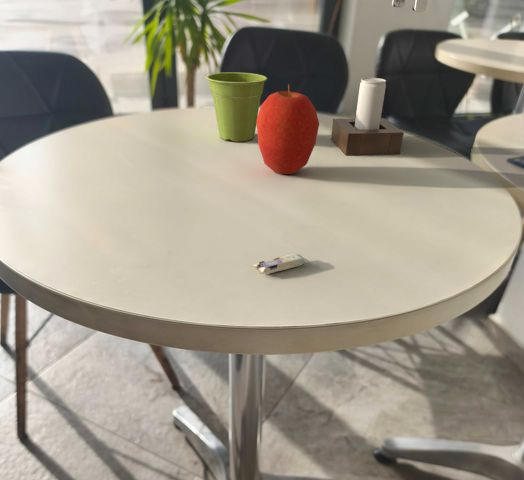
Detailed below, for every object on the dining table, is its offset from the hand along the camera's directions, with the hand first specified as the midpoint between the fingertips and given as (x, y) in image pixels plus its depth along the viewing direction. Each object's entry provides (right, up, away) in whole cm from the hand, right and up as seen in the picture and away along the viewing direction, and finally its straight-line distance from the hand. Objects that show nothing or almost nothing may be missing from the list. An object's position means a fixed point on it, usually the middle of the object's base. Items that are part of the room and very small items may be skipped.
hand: (407, 9), depth 84 cm
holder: (-4, -17, +16) cm, 24 cm away
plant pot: (-30, -14, +19) cm, 38 cm away
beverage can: (-4, -17, +16) cm, 24 cm away
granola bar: (-23, -48, -25) cm, 59 cm away
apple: (-21, -27, +3) cm, 34 cm away
